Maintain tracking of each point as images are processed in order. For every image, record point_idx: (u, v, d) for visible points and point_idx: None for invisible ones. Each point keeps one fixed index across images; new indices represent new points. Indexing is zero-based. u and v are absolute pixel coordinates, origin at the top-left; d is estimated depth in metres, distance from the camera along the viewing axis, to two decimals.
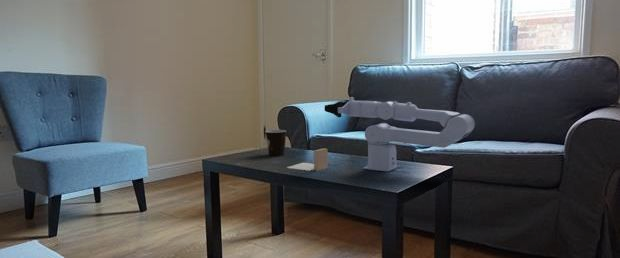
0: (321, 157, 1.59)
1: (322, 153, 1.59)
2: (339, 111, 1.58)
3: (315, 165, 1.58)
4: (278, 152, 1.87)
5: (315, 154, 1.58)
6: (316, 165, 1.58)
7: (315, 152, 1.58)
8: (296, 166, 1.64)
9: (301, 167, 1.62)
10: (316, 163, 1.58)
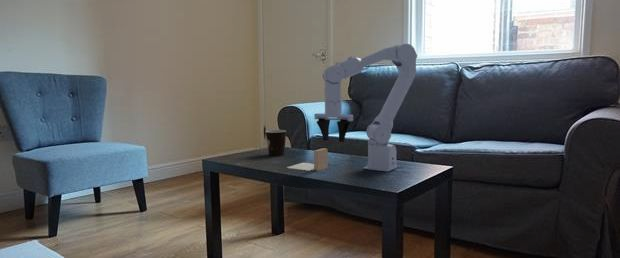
0: (321, 157, 1.59)
1: (322, 153, 1.59)
2: (352, 118, 1.51)
3: (315, 165, 1.58)
4: (278, 152, 1.87)
5: (315, 154, 1.58)
6: (316, 165, 1.58)
7: (315, 152, 1.58)
8: (296, 166, 1.64)
9: (301, 167, 1.62)
10: (316, 163, 1.58)
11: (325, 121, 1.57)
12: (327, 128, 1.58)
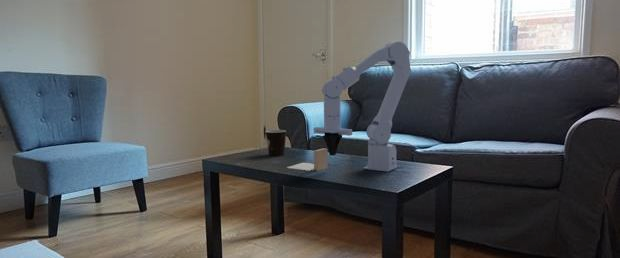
0: (321, 157, 1.59)
1: (322, 153, 1.59)
2: (351, 133, 1.52)
3: (315, 165, 1.58)
4: (278, 152, 1.87)
5: (315, 154, 1.58)
6: (316, 165, 1.58)
7: (315, 152, 1.58)
8: (296, 166, 1.64)
9: (301, 167, 1.62)
10: (316, 163, 1.58)
11: None
12: None
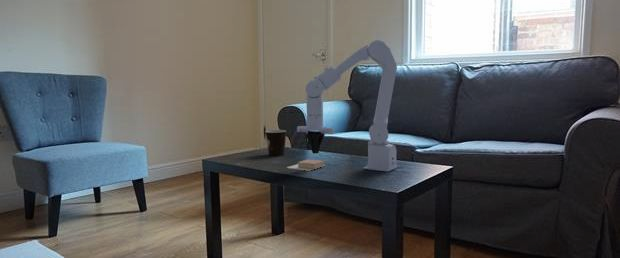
0: (306, 161, 1.63)
1: (305, 161, 1.64)
2: (333, 131, 1.56)
3: (309, 166, 1.60)
4: (278, 152, 1.87)
5: (301, 165, 1.62)
6: (309, 165, 1.60)
7: (299, 165, 1.62)
8: (296, 166, 1.64)
9: None
10: (308, 165, 1.60)
11: None
12: None
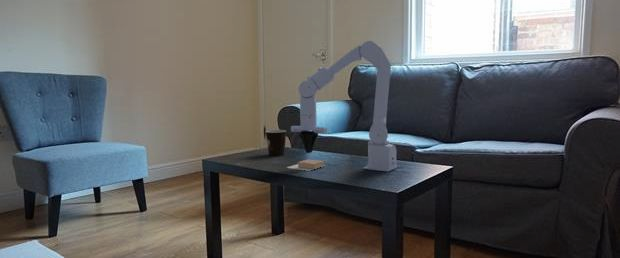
0: (306, 161, 1.63)
1: (305, 161, 1.64)
2: (326, 131, 1.58)
3: (309, 166, 1.60)
4: (278, 152, 1.87)
5: (301, 165, 1.62)
6: (309, 165, 1.60)
7: (299, 165, 1.62)
8: (296, 166, 1.64)
9: None
10: (308, 165, 1.60)
11: None
12: None
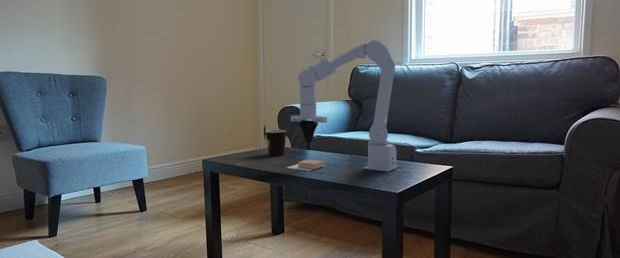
0: (306, 161, 1.63)
1: (305, 161, 1.64)
2: (326, 120, 1.58)
3: (309, 166, 1.60)
4: (278, 152, 1.87)
5: (301, 165, 1.62)
6: (309, 165, 1.60)
7: (299, 165, 1.62)
8: (296, 166, 1.64)
9: None
10: (308, 165, 1.60)
11: None
12: None
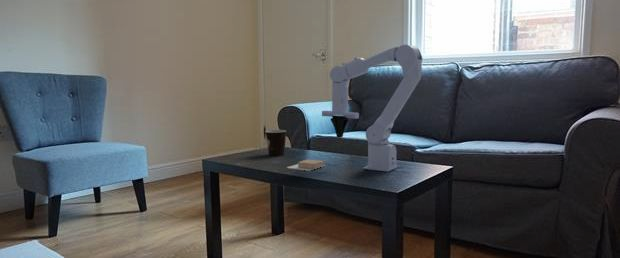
0: (306, 161, 1.63)
1: (305, 161, 1.64)
2: (358, 116, 1.60)
3: (309, 166, 1.60)
4: (278, 152, 1.87)
5: (301, 165, 1.62)
6: (309, 165, 1.60)
7: (299, 165, 1.62)
8: (296, 166, 1.64)
9: None
10: (308, 165, 1.60)
11: None
12: None
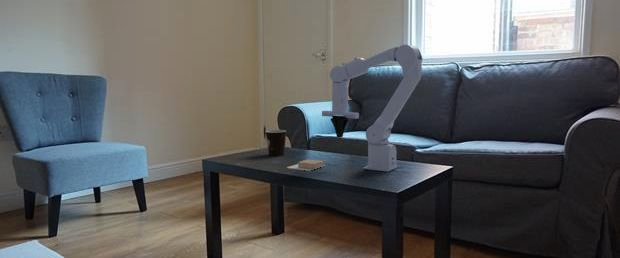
0: (306, 161, 1.63)
1: (305, 161, 1.64)
2: (358, 116, 1.60)
3: (309, 166, 1.60)
4: (278, 152, 1.87)
5: (301, 165, 1.62)
6: (309, 165, 1.60)
7: (299, 165, 1.62)
8: (296, 166, 1.64)
9: None
10: (308, 165, 1.60)
11: None
12: None
